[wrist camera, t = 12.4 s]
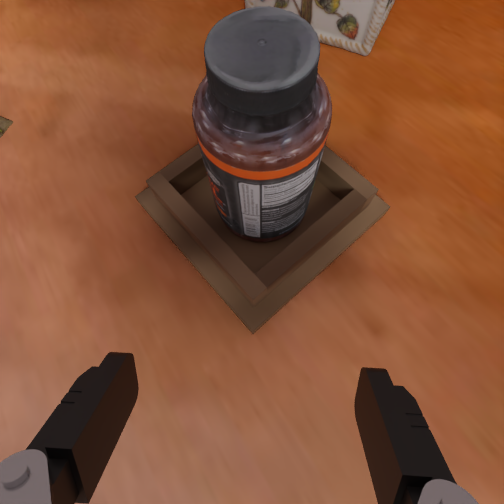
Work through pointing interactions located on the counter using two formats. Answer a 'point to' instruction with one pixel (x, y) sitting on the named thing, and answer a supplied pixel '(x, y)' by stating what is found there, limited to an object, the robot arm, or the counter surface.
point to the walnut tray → (260, 253)
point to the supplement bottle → (262, 120)
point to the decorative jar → (338, 20)
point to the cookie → (4, 125)
